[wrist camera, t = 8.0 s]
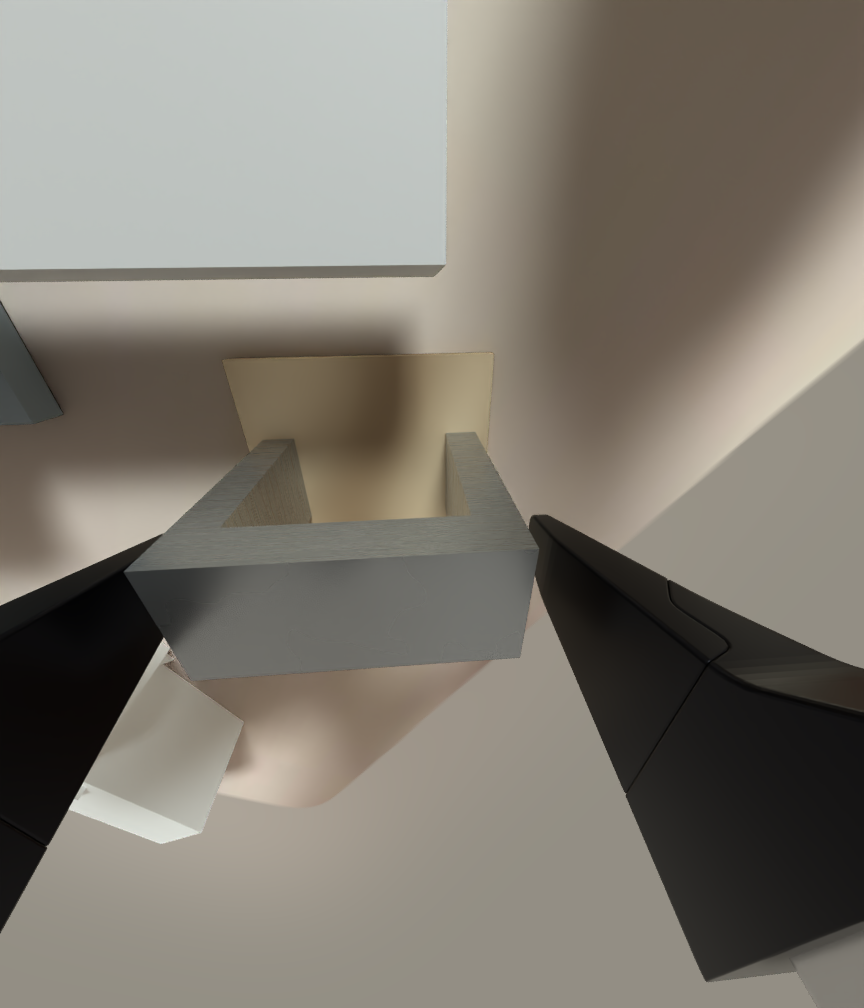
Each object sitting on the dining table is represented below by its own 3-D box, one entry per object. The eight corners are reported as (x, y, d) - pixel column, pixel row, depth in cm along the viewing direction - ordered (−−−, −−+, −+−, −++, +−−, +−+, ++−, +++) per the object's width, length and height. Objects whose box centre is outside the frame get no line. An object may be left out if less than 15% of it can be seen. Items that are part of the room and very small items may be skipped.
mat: (491, 352, 11) (494, 353, 10) (477, 554, 15) (479, 560, 14) (227, 358, 10) (221, 360, 10) (288, 564, 14) (285, 571, 14)
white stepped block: (277, 739, 22) (240, 864, 17) (73, 726, 20) (-36, 865, 15) (294, 562, 15) (240, 689, 10) (-21, 513, 13) (-287, 644, 8)
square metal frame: (471, 507, 13) (519, 657, 7) (284, 517, 13) (191, 680, 7) (475, 431, 11) (539, 549, 6) (263, 439, 11) (123, 571, 6)
